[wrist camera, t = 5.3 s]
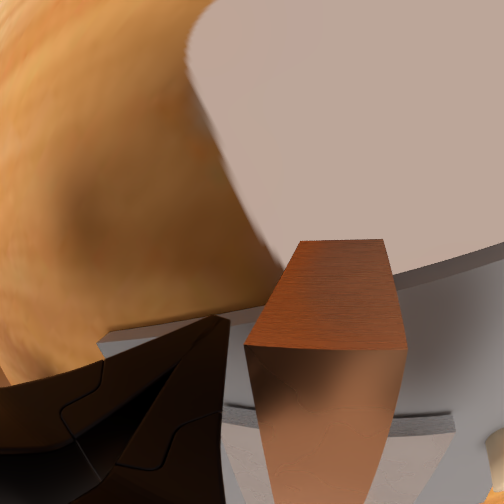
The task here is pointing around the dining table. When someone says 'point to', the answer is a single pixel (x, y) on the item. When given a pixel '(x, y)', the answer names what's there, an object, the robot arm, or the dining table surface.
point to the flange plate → (331, 388)
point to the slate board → (414, 369)
